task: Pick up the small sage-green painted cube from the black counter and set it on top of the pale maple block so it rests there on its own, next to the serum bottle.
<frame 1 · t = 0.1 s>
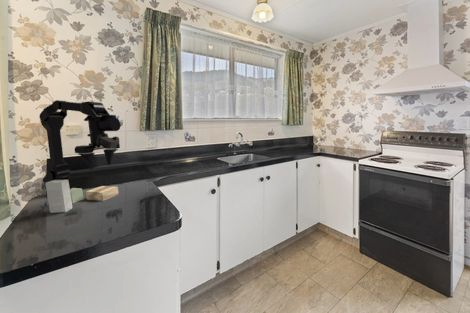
hand: (101, 166, 101), 15 cm above the countertop, tool pointing down, fingers open, 9 cm apart
maple block: (103, 197, 105), on the countertop
skincare box: (61, 211, 89), on the countertop
sage cube: (73, 200, 101), on the countertop
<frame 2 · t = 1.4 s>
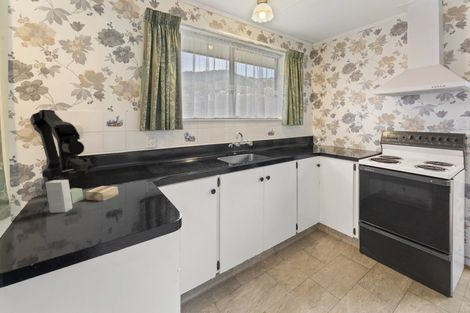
hand: (72, 188, 100), 6 cm above the countertop, tool pointing down, fingers open, 9 cm apart
nothing on the countertop moved.
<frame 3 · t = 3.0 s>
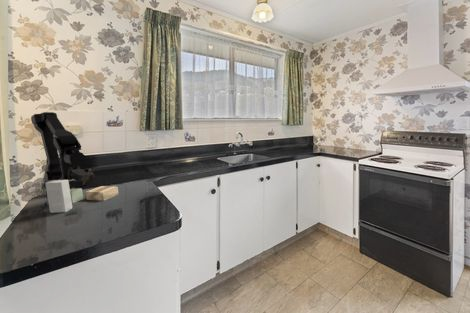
hand: (73, 198, 100), 1 cm above the countertop, tool pointing down, fingers closed on sage cube, 5 cm apart
sage cube: (73, 200, 101), on the countertop, touching gripper
everything else where it was.
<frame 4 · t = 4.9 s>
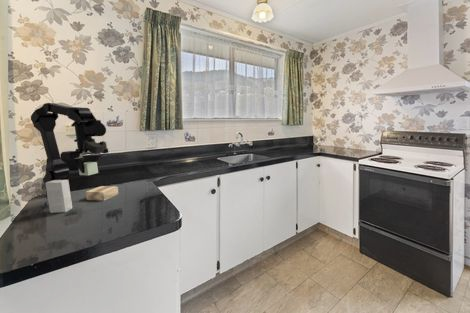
hand: (88, 171, 101), 12 cm above the countertop, tool pointing down, fingers closed on sage cube, 5 cm apart
sage cube: (89, 173, 101), point 11 cm above the countertop, touching gripper
everything else where it was.
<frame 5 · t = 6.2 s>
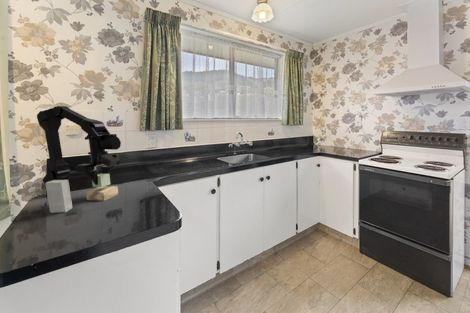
hand: (101, 183, 104), 6 cm above the countertop, tool pointing down, fingers closed on sage cube, 5 cm apart
sage cube: (101, 185, 104), point 5 cm above the countertop, touching gripper
everything else where it was.
when the fingers open (6 cm above the countertop, at t = 7.1 s): sage cube drops 1 cm, point 4 cm above the countertop.
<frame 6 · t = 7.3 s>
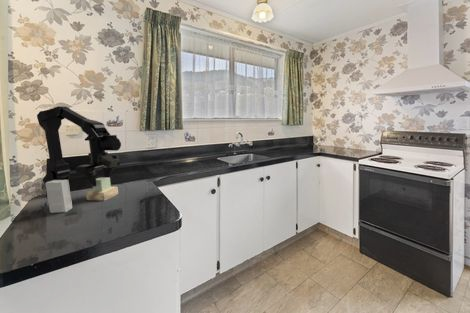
hand: (101, 184, 104), 6 cm above the countertop, tool pointing down, fingers open, 7 cm apart
sage cube: (102, 189, 104), point 4 cm above the countertop
everything else where it was.
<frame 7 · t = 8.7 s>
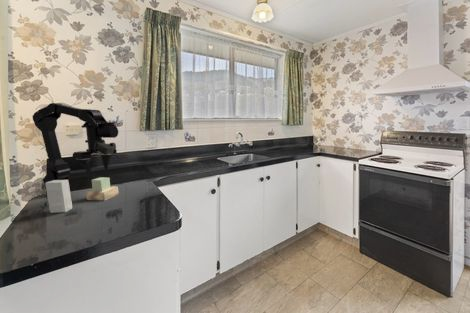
hand: (98, 171, 105), 12 cm above the countertop, tool pointing down, fingers open, 9 cm apart
maple block: (103, 197, 105), on the countertop, touching sage cube
sage cube: (101, 189, 104), point 4 cm above the countertop, touching maple block
everything else where it was.
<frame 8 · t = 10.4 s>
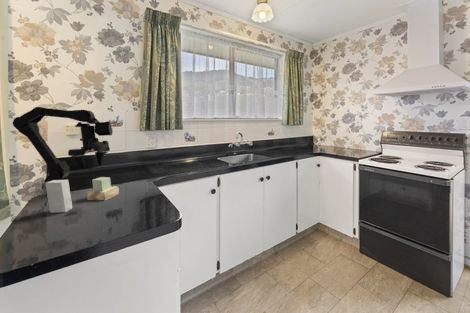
hand: (92, 167, 113), 12 cm above the countertop, tool pointing down, fingers open, 9 cm apart
nothing on the countertop moved.
at the end: sage cube inside the target area on the maple block (0.1 cm from its centre), point 4.0 cm above the maple block's base; sage cube tilted 0°; the gripper is holding nothing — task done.
